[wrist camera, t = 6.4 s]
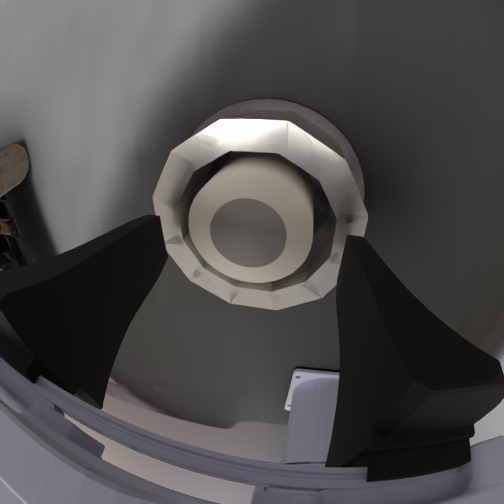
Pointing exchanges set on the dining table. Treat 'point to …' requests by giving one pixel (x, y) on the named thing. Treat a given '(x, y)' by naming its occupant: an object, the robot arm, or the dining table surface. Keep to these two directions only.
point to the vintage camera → (3, 221)
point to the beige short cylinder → (254, 217)
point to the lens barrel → (295, 150)
